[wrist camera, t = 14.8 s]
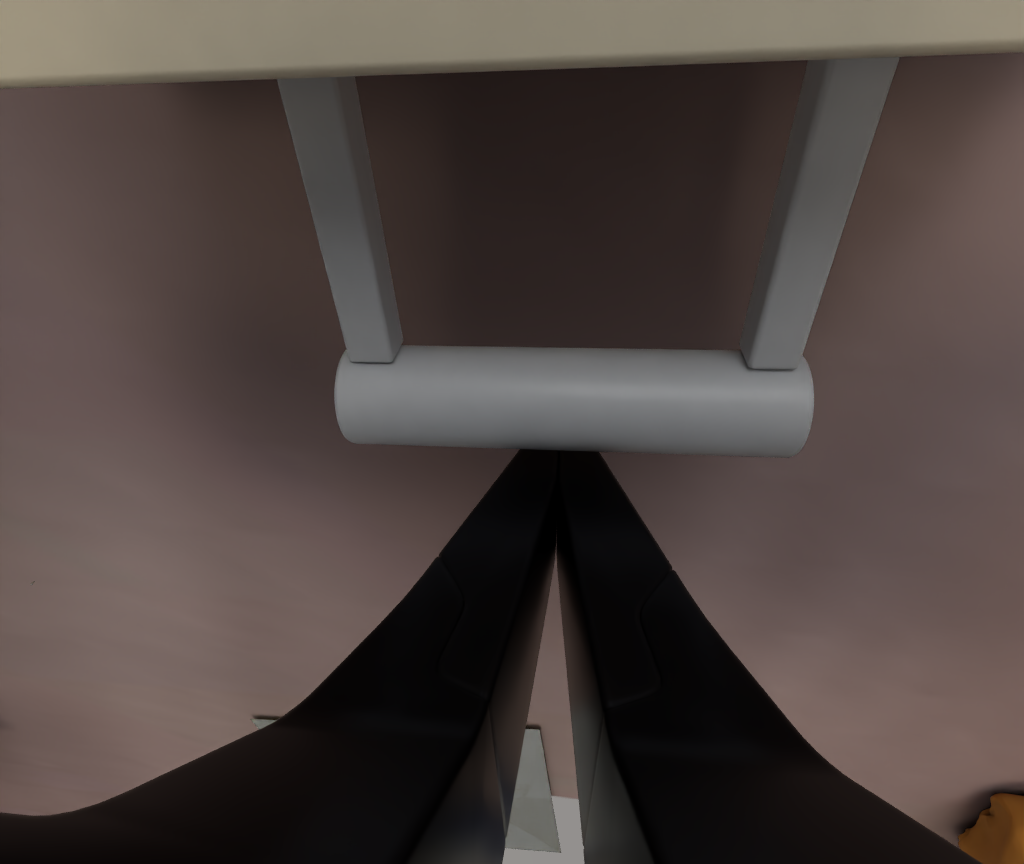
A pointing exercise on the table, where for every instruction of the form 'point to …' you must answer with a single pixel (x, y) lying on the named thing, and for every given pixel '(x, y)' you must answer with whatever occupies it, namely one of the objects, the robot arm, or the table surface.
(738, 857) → the robot arm
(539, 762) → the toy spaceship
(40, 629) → the table surface
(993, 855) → the coffee package
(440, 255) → the table surface
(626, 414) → the drawer
